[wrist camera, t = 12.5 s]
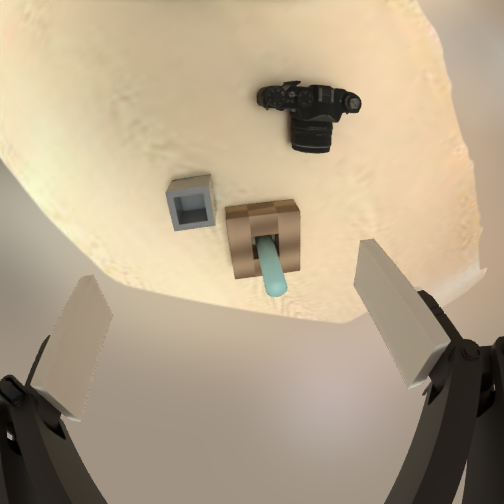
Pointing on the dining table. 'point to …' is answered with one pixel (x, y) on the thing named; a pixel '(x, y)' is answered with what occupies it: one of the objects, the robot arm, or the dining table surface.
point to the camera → (310, 111)
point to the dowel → (270, 266)
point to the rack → (263, 223)
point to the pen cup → (191, 203)
